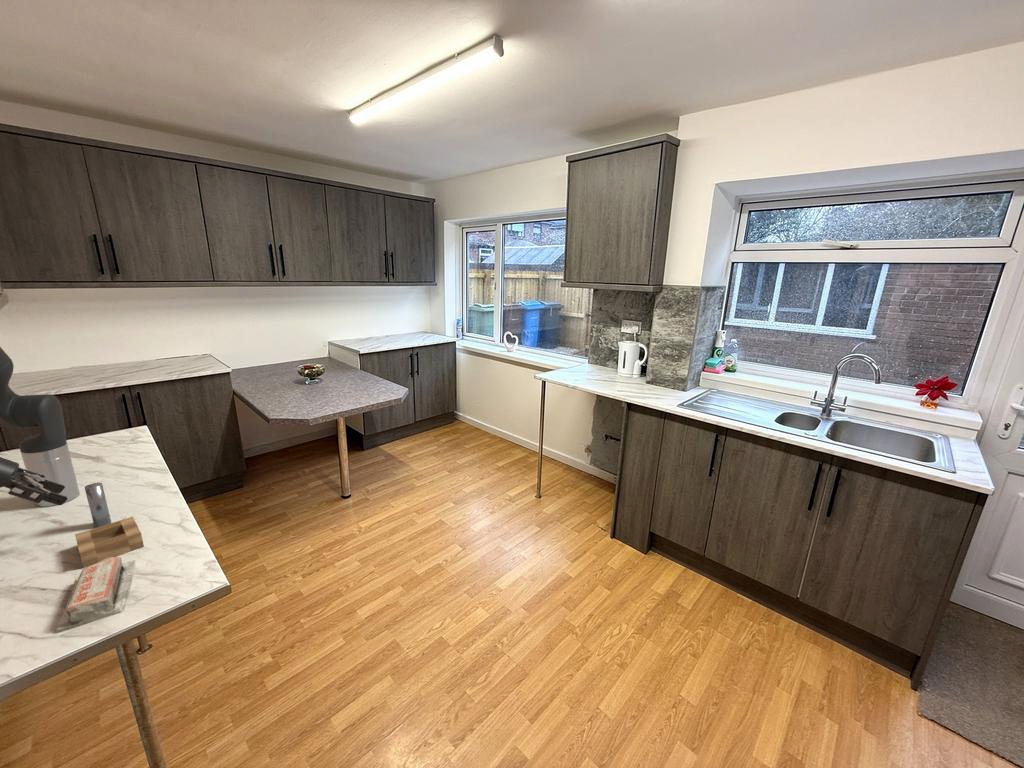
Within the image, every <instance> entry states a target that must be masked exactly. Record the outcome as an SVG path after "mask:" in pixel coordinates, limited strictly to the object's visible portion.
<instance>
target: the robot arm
mask: <svg viewBox="0 0 1024 768" xmlns="http://www.w3.org/2000/svg"><path fill="white" fill-rule="evenodd" d="M14 368H15V367H14V363H13V360H12V358H11V357H10V356H9V355H8V354H7V353H6V352H5V350H3V348H2V347H1V346H0V420H1V421H2V422H3V423H4V424H5V425H7V426H9V427H12V428H33V427H39V433H38V434H34V435H32V436H29V437H26V438H24V439H22V440H20V441H19V444H18V447H19V450H20V451H19V452H20V454H21V457H22V461H23V463H24V468H25V469H24V468H22V467H20V463H19V462H16V461H12V460H9V459H7V458H5V457H4V458H3V457H1V456H0V489H1V488H7V489H8V490H9V492H7V493H8V495H10V496H14V497H18V498H21V499H23V500H27V501H30V502H34V503H35V505H36V506H37V507H51V506H62V505H64V504H65V503H66V502H69V501H72V500H74V499H76V498H77V497H79V496H80V489H79V486H78V485H79V484H78V481H77V478H76V473H75V469H74V466H73V461H72V457H71V454H70V450H69V446H68V443H67V442H68V441H67V429H66V425H65V418H64V413H63V411H64V410H63V408H62V404H61V401H60V400H59V398H58V397H57V396H55V395H54V394H47V393H46V394H28V395H27V394H26V395H25V394H24V395H20V394H17V393H15V392H14V391H13V390H12V388H11V387H10V386H9V385H10V384H9V383H10V380H11V378H12V376H13V373H14Z"/></svg>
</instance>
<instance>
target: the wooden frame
mask: <svg viewBox="0 0 1024 768" xmlns="http://www.w3.org/2000/svg"><path fill="white" fill-rule="evenodd" d="M74 537H75V541H76V544H77V548H78V549H77V550H78V553H79V557H80V560H81V564H82V568H83V569H85V568H86V567H88V566H90V565H93V564H95V563H97V562H100V561H102V560H104V559H106V558H109V557H120V556H121V555H124V554H127V553H130V552H132V551H136V550H139V549H141V548H144V547H145V545H144V540H143V536H142V532H141V530H140V528H139V525H138V524H137V522H136V521H135V519H134V516H131V517H127V518H124V519H121V520H117V521H114V522H111V523H110V524H107V525H104V526H101V527H97V528H95V527H94V528H91V529H88V530H85V531H82V532H79V533H76V534H74Z"/></svg>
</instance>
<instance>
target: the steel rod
mask: <svg viewBox="0 0 1024 768" xmlns="http://www.w3.org/2000/svg"><path fill="white" fill-rule="evenodd" d="M84 491H85V495H86V499H87V503H88V506H89V510H90V514H91V515H90V516H91V519H92V523H93V526H94V528H95V527H96V528H97V527H101V526H104V525H107V524H110V523H112V520H111V515H110V511H109V507H108V503H107V497H106V493H105V489H104V486H103V482H93V483H90V484H87V485H86V486H84Z"/></svg>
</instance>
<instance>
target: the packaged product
mask: <svg viewBox="0 0 1024 768" xmlns="http://www.w3.org/2000/svg"><path fill="white" fill-rule="evenodd" d="M135 568H136V559H132V560H128V561H126V562H123V563H122V557H121V556H116V557H109V558H106V559H104V560H102V561H100V562H97V563H95V564H93V565H90V566H88V567H85V568H83V569H82V570H81V572H80V574H79V576H77V579H76V581H75V583H74V586H73V589H72V591H71V593H70V595H69V598H68V601H67V603H66V607H65V609H64V611H63V613H62V616H61V618H60V620H59V623H58V625H57V628H56V632H57V633H61V632H65V631H67V630H71V629H74V628H76V627H80V626H83V625H86V624H89V623H93V622H94V621H98V620H101V619H104V618H107V617H110V616H114V615H117V614H120V613H123V612H124V611H125V608H126V603H127V599H128V597H129V593H130V589H131V587H132V583H133V580H134V579H133V578H134V574H135Z"/></svg>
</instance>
